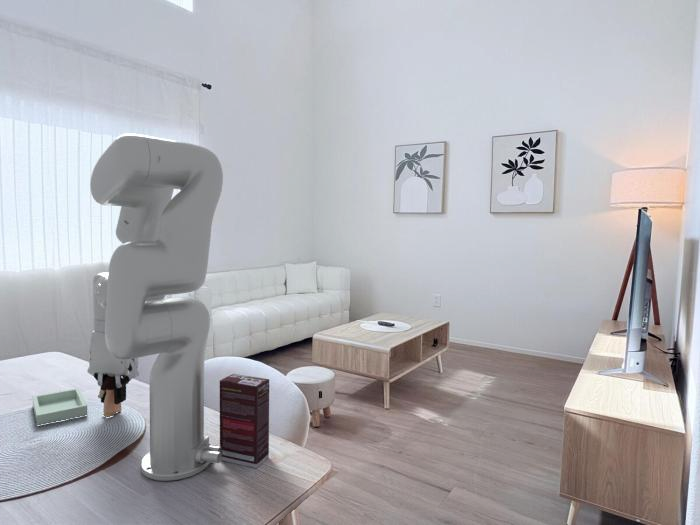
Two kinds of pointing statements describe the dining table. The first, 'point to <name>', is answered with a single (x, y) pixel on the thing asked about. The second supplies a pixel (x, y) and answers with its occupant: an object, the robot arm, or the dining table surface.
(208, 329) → the robot arm
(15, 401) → the dining table surface
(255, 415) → the supplement box
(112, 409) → the grandmother figurine
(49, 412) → the tray
